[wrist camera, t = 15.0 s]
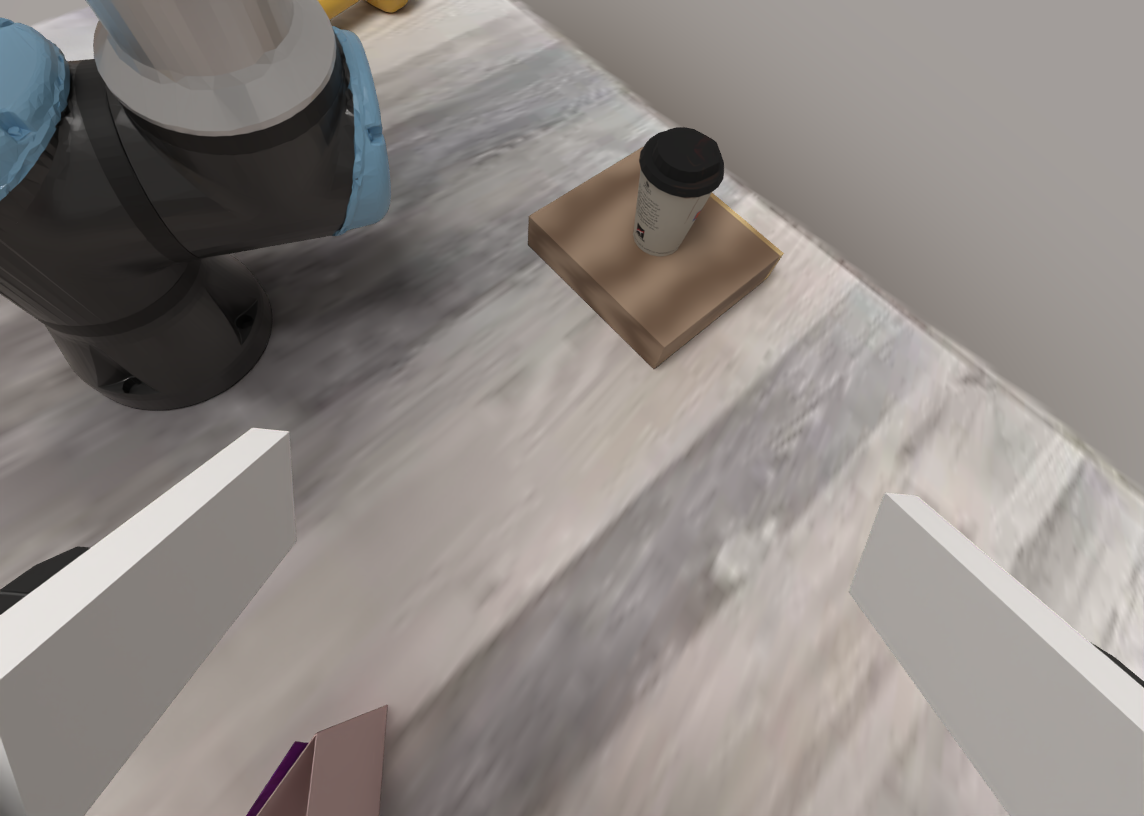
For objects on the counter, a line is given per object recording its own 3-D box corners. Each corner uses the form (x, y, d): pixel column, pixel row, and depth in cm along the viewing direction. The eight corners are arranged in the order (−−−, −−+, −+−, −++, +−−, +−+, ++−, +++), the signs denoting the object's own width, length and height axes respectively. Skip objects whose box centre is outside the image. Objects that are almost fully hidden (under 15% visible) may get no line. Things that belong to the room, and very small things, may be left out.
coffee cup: (621, 264, 51) (644, 178, 42) (619, 205, 54) (641, 113, 44) (695, 269, 51) (735, 187, 42) (690, 211, 54) (726, 121, 45)
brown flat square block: (527, 244, 56) (528, 216, 52) (644, 171, 61) (652, 141, 57) (653, 369, 51) (664, 347, 48) (766, 278, 57) (784, 252, 53)
